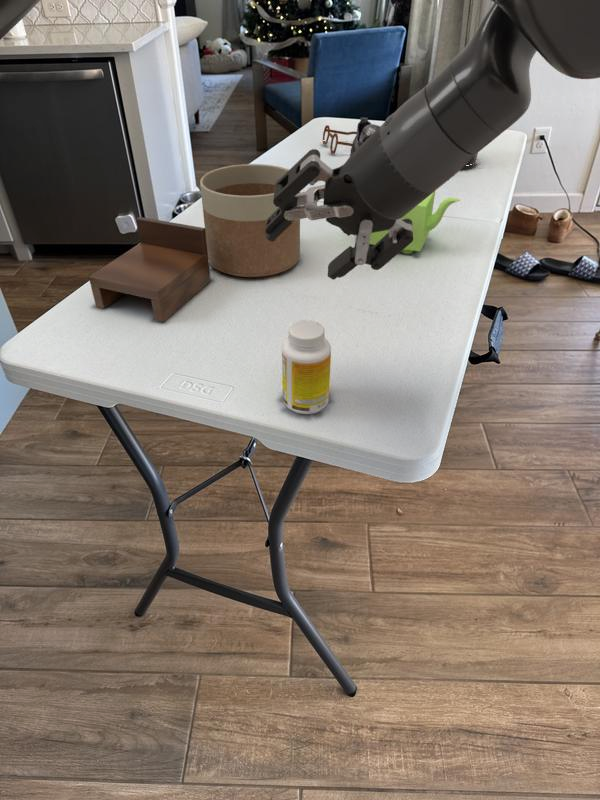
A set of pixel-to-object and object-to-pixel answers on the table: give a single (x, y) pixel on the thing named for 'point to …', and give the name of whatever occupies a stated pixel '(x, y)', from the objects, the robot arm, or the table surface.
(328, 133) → the glasses
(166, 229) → the shelf
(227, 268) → the planter
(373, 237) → the teapot
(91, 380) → the table surface
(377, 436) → the table surface
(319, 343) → the supplement bottle
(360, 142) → the shoe
